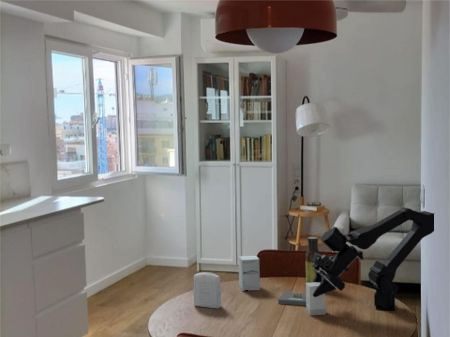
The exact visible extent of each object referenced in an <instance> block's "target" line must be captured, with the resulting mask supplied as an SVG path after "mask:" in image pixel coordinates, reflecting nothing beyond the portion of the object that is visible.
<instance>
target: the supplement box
mask: <svg viewBox="0 0 450 337" xmlns="http://www.w3.org/2000/svg"><path fill="white" fill-rule="evenodd" d="M260 280H261V278H260V258H259V257H258V256H257V255H239V256H238V282H239V283H238V285H239V288H240V290H241V292H244V291H245V290H248V291H260V290H261V281H260Z"/></svg>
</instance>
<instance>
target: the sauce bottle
mask: <svg viewBox="0 0 450 337" xmlns="http://www.w3.org/2000/svg"><path fill="white" fill-rule="evenodd" d="M318 242H319V237H316V236H309V237H307V244H308V245H307V247H308V248H307V251H306V253H305V284H306V283H312V282H313V281H314V278H315V272H314V270H316V269H315V268H314V267H313V265H314V264H315V263H314V262H313V261H311V260H312V258H313V256H314V253H317V254H320V255H321V253H320V251H319V244H318ZM316 271H317V270H316Z"/></svg>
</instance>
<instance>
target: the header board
mask: <svg viewBox="0 0 450 337" xmlns="http://www.w3.org/2000/svg"><path fill="white" fill-rule="evenodd" d="M278 304H280V305H293V306H306V292H298V291H297V292H296V291H284V292H283V293H282V294H281V295H280V297H279V298H278Z"/></svg>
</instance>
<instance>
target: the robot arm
mask: <svg viewBox="0 0 450 337" xmlns="http://www.w3.org/2000/svg"><path fill="white" fill-rule="evenodd" d="M434 214H435V213H434V212H431V211H426V210H421V211H417V210H413V209H412V208H409V207H404V206H403V207H401V208H399V210H397V211H395V212H394V213H392V214H390V215H388V216H386V217H385V218H383V219H381V220H379V221H378V222H376V223H374V224H372V225H369V226H365V227H361V228H358V229H356V230H354V231H352V232H351V233H347V234H343V233H342V232H341V231H340V230H339V228H338V227H336V226H333V227H332V228H330V229H329V230H327V231H325V232H324V233H323V234H322V236H321V239H320V241H321V242H322V243H323V244H324V245H325V246H326V247H327V248H329V249H330V251H332V252H333V253H335V252H336V254H335V255H334V256H333V255H331V256H328V255H326V254H322V255H321V253H320V254H317V253H314V256H313V258H312V260H311V261H313V262H314V263H315V264H314V265H313V267H314V268H315V269H316V270H317V271H316V270H314V272H315V278H314V281H313V282H321V284H320V285H319V286H318V288H317V289H316V291H315V292H314V294H313V296H314V297H317V296H320V295H322V294H324V293H325V294H327V293H330V292H332V291H336V290H337V289H338V290H339V291H340V292H342V291H343V290H344V289H345V288H346V284H345V282H344V281H343V280H342V279H341V277H340V276H341V275H342V274H343V273H344V272H345V273H346V272H348V271H349V269H348V267H350V266H351V264H352V263H353V262H354V261H355V260H356V259H357V258H358V259H359V260H361V261H363V260H364V252H363V251H362V250H368V249H369V248H370V247H372V246H373V245H374V244H376V243H377V241H378V239H379V238H381V237H382V236H383V235H385V234H387V233H389V232H391V231H392V230H394V229H396V228H398V227H400V226H401V225H402V224H404V223H407V222H408V221H412V224H411V229H410V230H409V231H408V233H407V234H406V235H405V236H404V238H402V240H400V242H399V243H398V244H397V246H395V248H394V249H393V250H392V252H391V253H389V255H388V256H387V258H386V259H385V260H383V261H379V260H376V261H375V262H374V264H373V265H372V266H371V267H370V268H369V272H368V273H367V275H368V280H369V281H370V283H371V284H372V285H373V287H374V288H375V292H374V293H373V296H374V297H373V299H374V300H373V303H374V304H373V305H374V307H375V310H379V311H381V310H384V311H385V310H386V311H396V310H397V309H396V294H397V293H398V290H399V286H398V285H397V283H395V282H394V279H395V277H396V275H397V274H396V273H397V270H398V268H399V267H400V266H401V264H402V263H403V262H404V261H405V260H406V259H407V257H408V256H409V255H410V254H411V253H412V252H413V250H414V249H415V248H416V247H417V245H418V244H419V243H420V242H421V240H422V239H424V238H425V237H427V236H429V235H431V234H432V233H434V232H435V231H434ZM347 243H348V244H347ZM349 244H350V245H349ZM357 248H359V249H360V250H359V249H357Z"/></svg>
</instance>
